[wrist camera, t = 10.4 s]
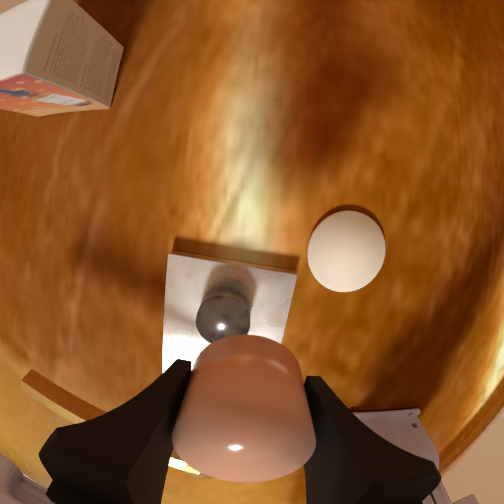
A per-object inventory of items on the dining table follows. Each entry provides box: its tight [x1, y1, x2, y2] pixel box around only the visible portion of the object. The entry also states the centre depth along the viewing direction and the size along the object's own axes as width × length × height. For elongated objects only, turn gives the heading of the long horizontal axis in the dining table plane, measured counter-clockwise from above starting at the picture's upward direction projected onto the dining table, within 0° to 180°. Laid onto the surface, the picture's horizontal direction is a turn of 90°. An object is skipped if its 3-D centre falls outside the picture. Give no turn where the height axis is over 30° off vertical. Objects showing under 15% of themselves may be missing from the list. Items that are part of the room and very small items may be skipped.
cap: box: [172, 334, 316, 482], centre depth 10 cm, size 5×5×4 cm
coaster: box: [307, 211, 385, 292], centre depth 20 cm, size 6×6×1 cm
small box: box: [0, 0, 124, 117], centre depth 12 cm, size 8×6×10 cm
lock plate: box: [163, 250, 297, 372], centre depth 19 cm, size 9×16×7 cm, turn 171°
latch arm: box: [21, 369, 214, 479], centre depth 15 cm, size 15×2×2 cm, turn 68°
